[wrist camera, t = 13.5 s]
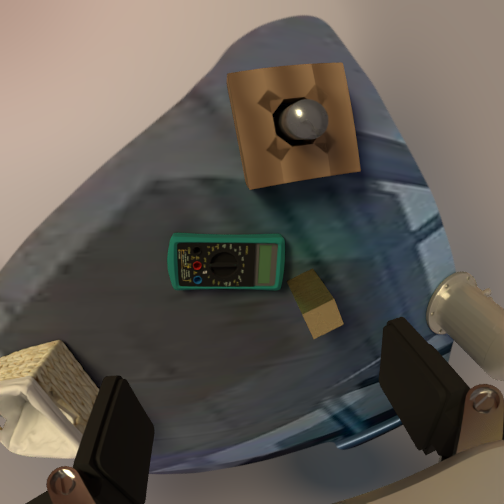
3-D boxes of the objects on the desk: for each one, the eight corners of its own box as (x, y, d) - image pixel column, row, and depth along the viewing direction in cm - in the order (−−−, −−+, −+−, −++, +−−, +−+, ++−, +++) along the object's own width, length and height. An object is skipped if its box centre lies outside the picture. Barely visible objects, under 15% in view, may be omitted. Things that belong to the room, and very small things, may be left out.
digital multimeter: (168, 231, 39) (165, 238, 36) (283, 232, 41) (287, 239, 38) (171, 282, 42) (168, 292, 39) (279, 283, 43) (282, 292, 40)
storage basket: (36, 409, 48) (13, 457, 34) (-9, 353, 43) (-43, 397, 29) (113, 397, 48) (94, 459, 34) (62, 327, 42) (23, 386, 28)
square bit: (312, 268, 42) (334, 298, 34) (322, 291, 44) (343, 324, 35) (286, 281, 43) (302, 314, 34) (297, 303, 44) (313, 339, 36)
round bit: (301, 107, 35) (324, 97, 27) (306, 137, 36) (331, 136, 28) (269, 111, 35) (284, 101, 26) (275, 142, 36) (292, 141, 28)
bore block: (328, 71, 34) (342, 62, 29) (344, 167, 38) (360, 171, 33) (226, 82, 33) (227, 73, 28) (246, 184, 38) (249, 189, 33)
